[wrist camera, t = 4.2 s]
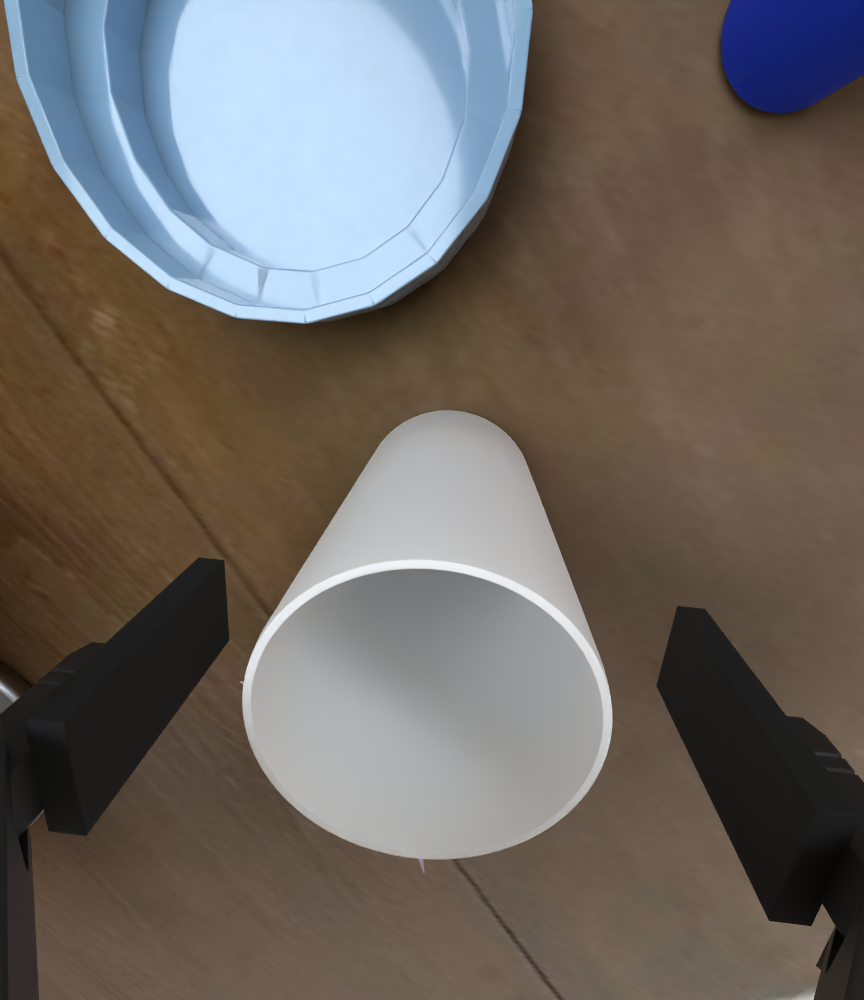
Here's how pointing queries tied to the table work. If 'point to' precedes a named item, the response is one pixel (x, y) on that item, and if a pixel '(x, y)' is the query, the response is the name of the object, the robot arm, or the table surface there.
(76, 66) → the bowl
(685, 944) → the table surface
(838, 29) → the beverage can
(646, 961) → the table surface
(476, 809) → the cup
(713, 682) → the robot arm
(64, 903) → the table surface
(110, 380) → the table surface
